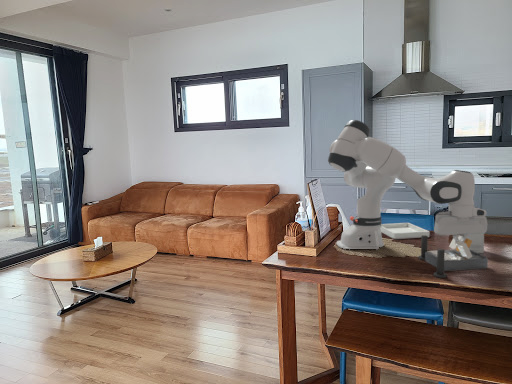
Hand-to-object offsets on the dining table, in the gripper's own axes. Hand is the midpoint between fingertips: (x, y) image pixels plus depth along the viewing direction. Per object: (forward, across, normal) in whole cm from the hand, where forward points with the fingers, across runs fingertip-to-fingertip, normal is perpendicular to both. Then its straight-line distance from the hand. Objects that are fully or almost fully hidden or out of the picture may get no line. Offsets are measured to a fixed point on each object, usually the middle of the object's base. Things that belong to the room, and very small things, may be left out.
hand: (459, 244), depth 147 cm
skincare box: (+8, +16, +16) cm, 24 cm away
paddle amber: (+3, +1, 0) cm, 3 cm away
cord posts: (+8, -12, -1) cm, 14 cm away
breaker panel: (+8, -1, 0) cm, 8 cm away
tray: (+8, +2, +53) cm, 54 cm away
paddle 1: (+4, 0, +5) cm, 7 cm away
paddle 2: (+4, +1, -5) cm, 6 cm away
